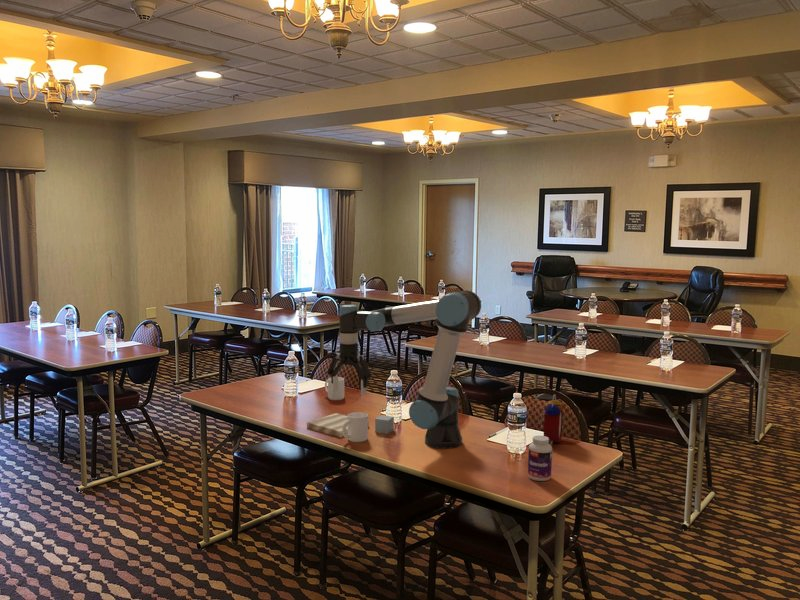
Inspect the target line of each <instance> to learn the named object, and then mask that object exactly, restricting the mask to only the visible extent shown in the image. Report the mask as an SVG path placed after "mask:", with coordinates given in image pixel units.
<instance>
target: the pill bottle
mask: <svg viewBox="0 0 800 600" xmlns="http://www.w3.org/2000/svg"><path fill="white" fill-rule="evenodd" d="M527 458H528V459H527V460H528V461H527V475H528V478H530V479H531V480H533V481H535V482H536V481H537V482H545V481H546V482H547V481H549V480H550V479H551V477H552V463H553V462H552V460H553V447H552V446H551V444H550V441H549V438H548V437H546V436H544V435H533V436H532V442H531V443H529V446H528V457H527Z"/></svg>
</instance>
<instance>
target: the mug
mask: <svg viewBox="0 0 800 600" xmlns="http://www.w3.org/2000/svg"><path fill="white" fill-rule="evenodd" d="M368 415H369V414H368V413H366V412H361V411H360V412H359V411H357V412H350V413H348V414H347V416H348V421H346V422H345V423H344V425H343V429H342V433H343V437H344V438H345V439H347V440H348V441H350V442H352V443H363V442H365V441H367V440H368V438H369V437H368V435H369V432H368V431H369V430H368V429H369V427H368V421H369V418H368V417H369V416H368ZM347 425H348V435H347V434H346V427H347Z"/></svg>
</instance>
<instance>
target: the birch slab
mask: <svg viewBox="0 0 800 600" xmlns="http://www.w3.org/2000/svg"><path fill="white" fill-rule="evenodd" d="M346 421H348V415H345V414H341V413H336V412H335V413H332V414H329V415H326V416H323V417H319V418H317V419H314V420H311V421H310V420H309V421H307V422H306V429H308V430H313V431H318V432H319V433H323V434H328V435H331V436H334V437H337V438H343V437H344V436H343V433H342V429H343V425H344V423H345V422H346ZM369 423H370V422H369V420H368V428H369V426H370V424H369ZM346 434H347V435H348V425H347V427H346Z"/></svg>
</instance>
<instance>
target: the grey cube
mask: <svg viewBox="0 0 800 600" xmlns="http://www.w3.org/2000/svg"><path fill="white" fill-rule="evenodd" d="M374 422H375V423H374V433H378V434H385V435H389V434H390V433H392V432H393V431H394V430H395V426H394V425H395V418H394V416H390V415H384V414H381V415H379V416H377V417H375V418H374Z"/></svg>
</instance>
